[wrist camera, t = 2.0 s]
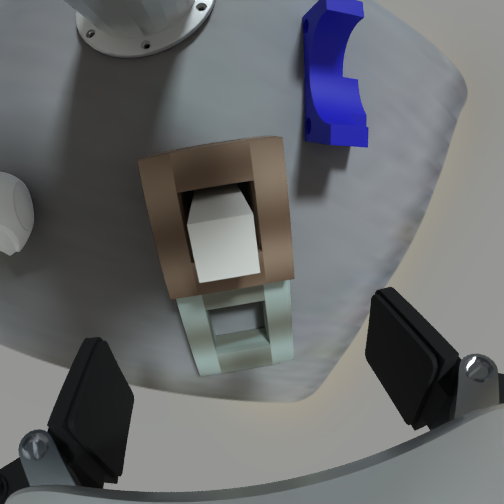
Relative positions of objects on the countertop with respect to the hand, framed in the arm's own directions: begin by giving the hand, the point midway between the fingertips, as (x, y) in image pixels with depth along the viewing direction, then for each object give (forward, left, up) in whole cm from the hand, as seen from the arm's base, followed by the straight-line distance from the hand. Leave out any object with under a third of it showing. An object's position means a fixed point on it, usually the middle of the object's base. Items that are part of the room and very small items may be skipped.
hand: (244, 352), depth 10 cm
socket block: (+5, 0, -18) cm, 19 cm away
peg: (0, 0, -18) cm, 18 cm away
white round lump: (-5, -20, -18) cm, 28 cm away
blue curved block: (-11, +11, -18) cm, 24 cm away
